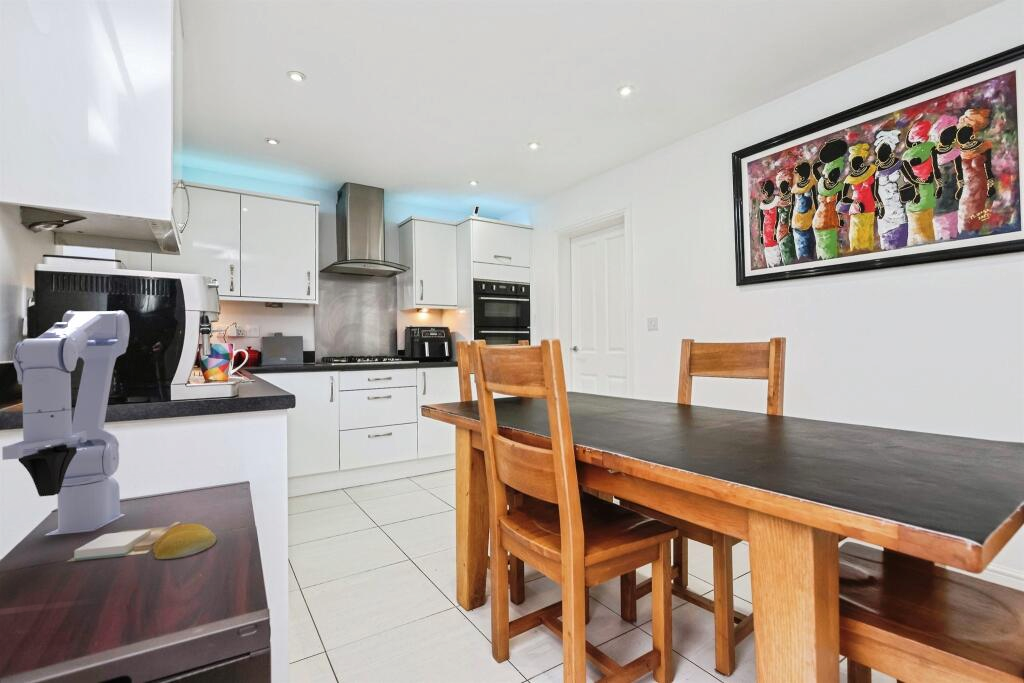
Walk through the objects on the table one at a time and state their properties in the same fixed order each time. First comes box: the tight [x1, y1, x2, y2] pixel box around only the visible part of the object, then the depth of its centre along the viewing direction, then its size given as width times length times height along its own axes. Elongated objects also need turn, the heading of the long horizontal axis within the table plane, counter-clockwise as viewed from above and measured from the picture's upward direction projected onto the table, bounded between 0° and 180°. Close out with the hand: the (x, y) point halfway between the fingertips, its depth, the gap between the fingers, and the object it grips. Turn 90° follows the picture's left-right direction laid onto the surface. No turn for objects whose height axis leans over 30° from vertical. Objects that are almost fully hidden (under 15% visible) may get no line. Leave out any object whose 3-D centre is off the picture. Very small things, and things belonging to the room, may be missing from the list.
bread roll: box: [152, 523, 217, 560], centre depth 77 cm, size 8×9×4 cm
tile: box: [73, 530, 151, 561], centre depth 78 cm, size 2×7×7 cm
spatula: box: [134, 521, 182, 551], centre depth 82 cm, size 11×2×1 cm, turn 10°
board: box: [66, 526, 168, 562], centre depth 81 cm, size 13×11×1 cm
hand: (49, 494), depth 78 cm, fingers closed
